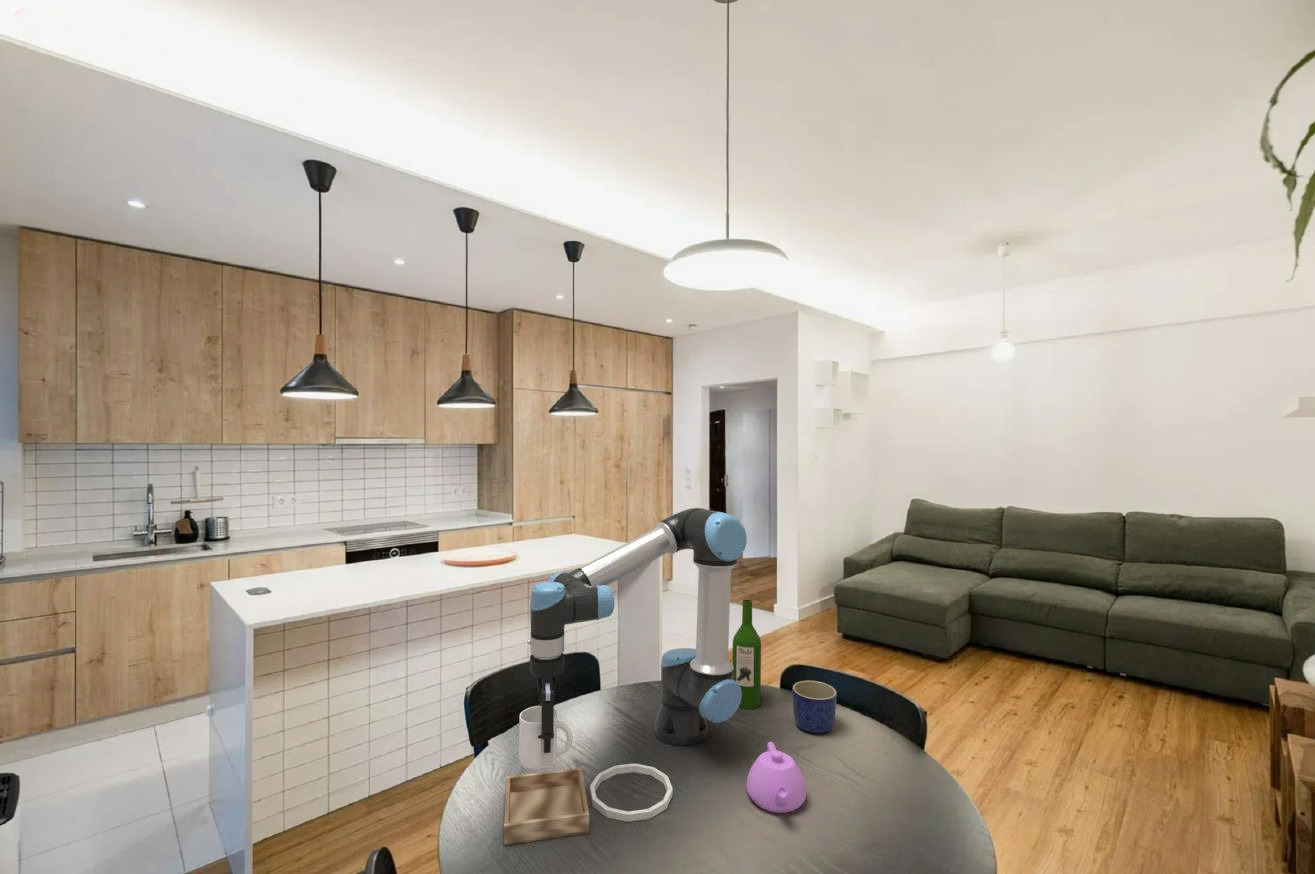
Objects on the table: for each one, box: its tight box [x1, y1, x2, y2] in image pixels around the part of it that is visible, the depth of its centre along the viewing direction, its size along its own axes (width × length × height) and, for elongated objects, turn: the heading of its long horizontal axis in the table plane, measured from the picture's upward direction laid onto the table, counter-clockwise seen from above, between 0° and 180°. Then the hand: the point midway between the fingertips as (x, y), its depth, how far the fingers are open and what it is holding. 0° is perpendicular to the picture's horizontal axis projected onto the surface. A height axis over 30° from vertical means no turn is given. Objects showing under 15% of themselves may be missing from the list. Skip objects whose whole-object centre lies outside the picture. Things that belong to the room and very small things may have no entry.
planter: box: [792, 680, 838, 734], centre depth 170 cm, size 12×12×11 cm
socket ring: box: [589, 763, 674, 823], centre depth 138 cm, size 19×19×2 cm
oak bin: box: [503, 767, 590, 846], centre depth 131 cm, size 18×18×4 cm
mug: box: [518, 705, 573, 770], centre depth 130 cm, size 12×8×10 cm
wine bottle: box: [731, 598, 762, 710], centre depth 184 cm, size 9×9×32 cm
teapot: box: [746, 741, 807, 814], centre depth 136 cm, size 14×20×11 cm
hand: (545, 753), depth 131 cm, fingers closed on mug, 8 cm apart
